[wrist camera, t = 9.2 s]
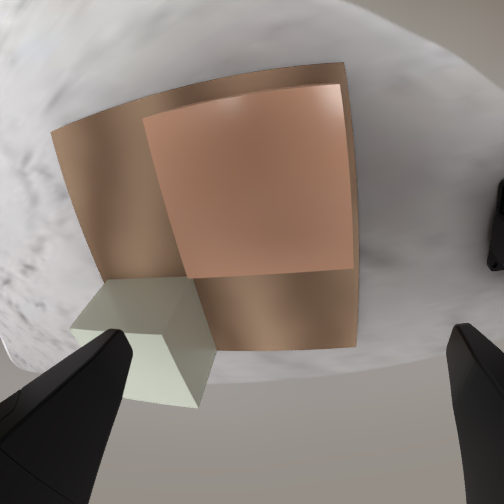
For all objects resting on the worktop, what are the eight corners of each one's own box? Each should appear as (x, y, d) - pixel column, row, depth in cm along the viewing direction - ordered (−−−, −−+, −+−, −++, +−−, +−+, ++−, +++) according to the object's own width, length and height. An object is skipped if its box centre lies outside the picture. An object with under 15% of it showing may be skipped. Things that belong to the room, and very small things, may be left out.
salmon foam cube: (328, 82, 14) (339, 84, 9) (342, 212, 17) (353, 268, 12) (191, 103, 15) (142, 118, 11) (218, 224, 19) (187, 278, 14)
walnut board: (341, 63, 14) (344, 62, 13) (355, 337, 23) (356, 346, 22) (59, 128, 18) (50, 132, 17) (140, 338, 27) (135, 346, 26)
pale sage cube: (192, 276, 21) (161, 334, 16) (216, 350, 24) (198, 408, 20) (107, 279, 22) (69, 328, 18) (140, 346, 26) (114, 396, 21)
